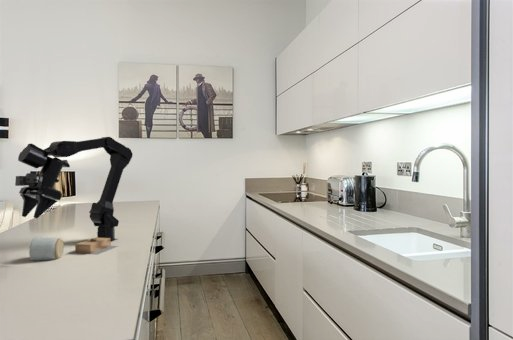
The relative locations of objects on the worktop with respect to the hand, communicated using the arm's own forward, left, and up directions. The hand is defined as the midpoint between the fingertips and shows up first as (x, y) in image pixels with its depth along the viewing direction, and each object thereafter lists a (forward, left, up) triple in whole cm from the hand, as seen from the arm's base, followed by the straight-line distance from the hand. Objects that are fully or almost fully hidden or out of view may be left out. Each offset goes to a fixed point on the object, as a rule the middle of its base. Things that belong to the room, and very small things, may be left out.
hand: (29, 217), depth 117 cm
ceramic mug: (-1, +6, -14) cm, 15 cm away
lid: (-13, +14, -13) cm, 23 cm away
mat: (-13, +14, -14) cm, 24 cm away
